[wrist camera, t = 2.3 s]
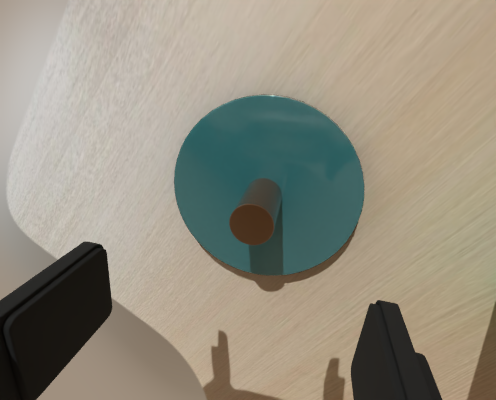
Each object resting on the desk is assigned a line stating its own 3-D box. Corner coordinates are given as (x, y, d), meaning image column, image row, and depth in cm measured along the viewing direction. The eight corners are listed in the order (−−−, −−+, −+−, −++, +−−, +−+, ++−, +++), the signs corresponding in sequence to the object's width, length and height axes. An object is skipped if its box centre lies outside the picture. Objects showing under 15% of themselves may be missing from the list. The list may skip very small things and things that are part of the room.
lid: (152, 200, 23) (107, 235, 18) (244, 49, 18) (217, 39, 13) (282, 294, 24) (274, 353, 19) (405, 175, 19) (439, 212, 14)
